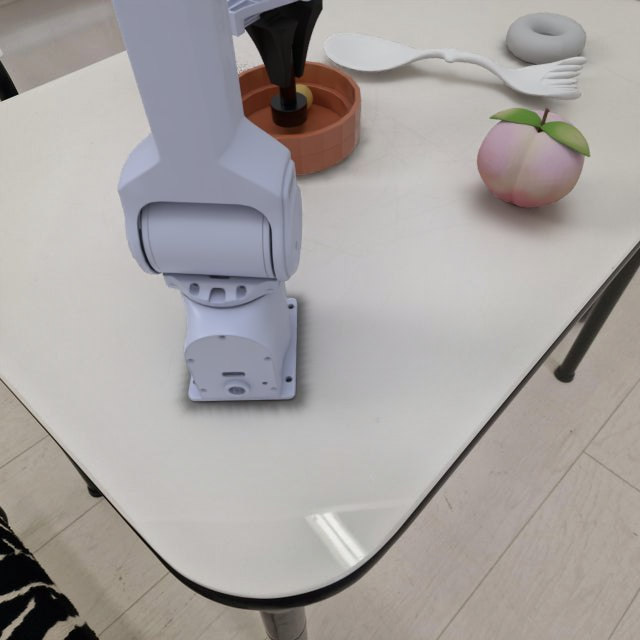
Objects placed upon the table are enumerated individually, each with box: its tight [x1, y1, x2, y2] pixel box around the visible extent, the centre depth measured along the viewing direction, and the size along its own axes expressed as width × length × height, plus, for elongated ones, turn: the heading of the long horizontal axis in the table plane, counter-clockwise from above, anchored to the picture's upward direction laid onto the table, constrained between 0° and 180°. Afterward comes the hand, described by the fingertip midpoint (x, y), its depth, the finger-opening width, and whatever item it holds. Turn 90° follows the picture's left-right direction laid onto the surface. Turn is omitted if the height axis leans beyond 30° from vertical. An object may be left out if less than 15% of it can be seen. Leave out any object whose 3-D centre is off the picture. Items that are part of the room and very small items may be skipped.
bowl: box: [238, 60, 362, 176], centre depth 56 cm, size 15×15×5 cm
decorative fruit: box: [476, 107, 591, 208], centre depth 47 cm, size 9×8×10 cm
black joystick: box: [270, 42, 308, 128], centre depth 54 cm, size 4×4×9 cm
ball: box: [296, 84, 313, 110], centre depth 59 cm, size 3×3×3 cm
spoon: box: [322, 32, 588, 101], centre depth 64 cm, size 9×32×4 cm, turn 69°
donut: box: [505, 12, 587, 65], centre depth 67 cm, size 10×4×10 cm
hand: (286, 79), depth 54 cm, fingers closed on black joystick, 2 cm apart
